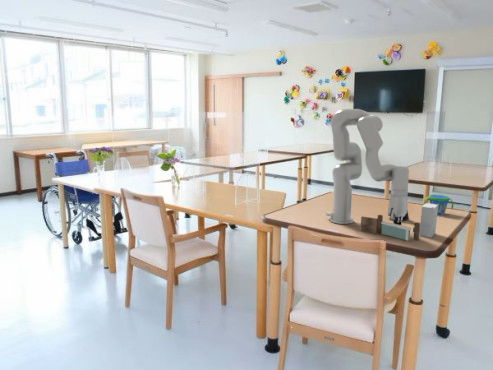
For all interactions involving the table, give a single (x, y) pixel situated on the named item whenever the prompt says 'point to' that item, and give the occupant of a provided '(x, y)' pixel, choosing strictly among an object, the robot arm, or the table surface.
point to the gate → (396, 230)
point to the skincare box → (428, 220)
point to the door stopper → (404, 217)
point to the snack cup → (439, 202)
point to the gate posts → (376, 226)
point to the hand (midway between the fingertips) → (397, 229)
